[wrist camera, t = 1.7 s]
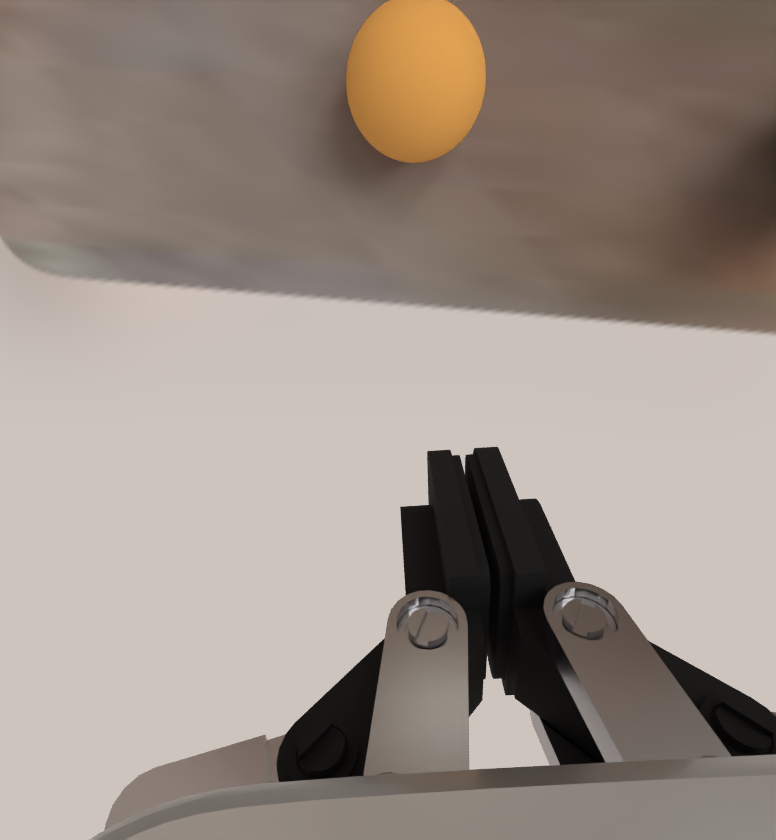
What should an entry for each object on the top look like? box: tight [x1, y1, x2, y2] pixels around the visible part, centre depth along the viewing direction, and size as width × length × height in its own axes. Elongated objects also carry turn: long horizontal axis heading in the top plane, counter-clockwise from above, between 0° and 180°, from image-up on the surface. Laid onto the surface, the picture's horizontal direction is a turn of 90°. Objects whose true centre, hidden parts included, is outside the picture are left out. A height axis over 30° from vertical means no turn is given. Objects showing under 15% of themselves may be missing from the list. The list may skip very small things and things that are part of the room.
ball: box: [346, 0, 486, 163], centre depth 20 cm, size 6×6×6 cm
